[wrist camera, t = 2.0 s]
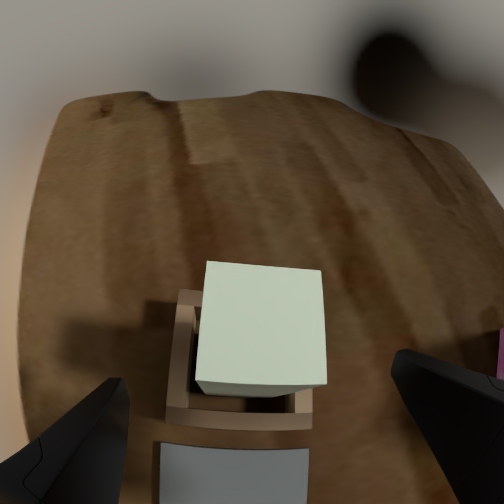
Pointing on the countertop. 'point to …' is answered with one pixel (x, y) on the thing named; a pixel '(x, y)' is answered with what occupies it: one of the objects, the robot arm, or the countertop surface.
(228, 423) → the walnut holder
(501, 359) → the gum box
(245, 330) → the sage block
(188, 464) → the rubber mat
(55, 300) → the countertop surface
